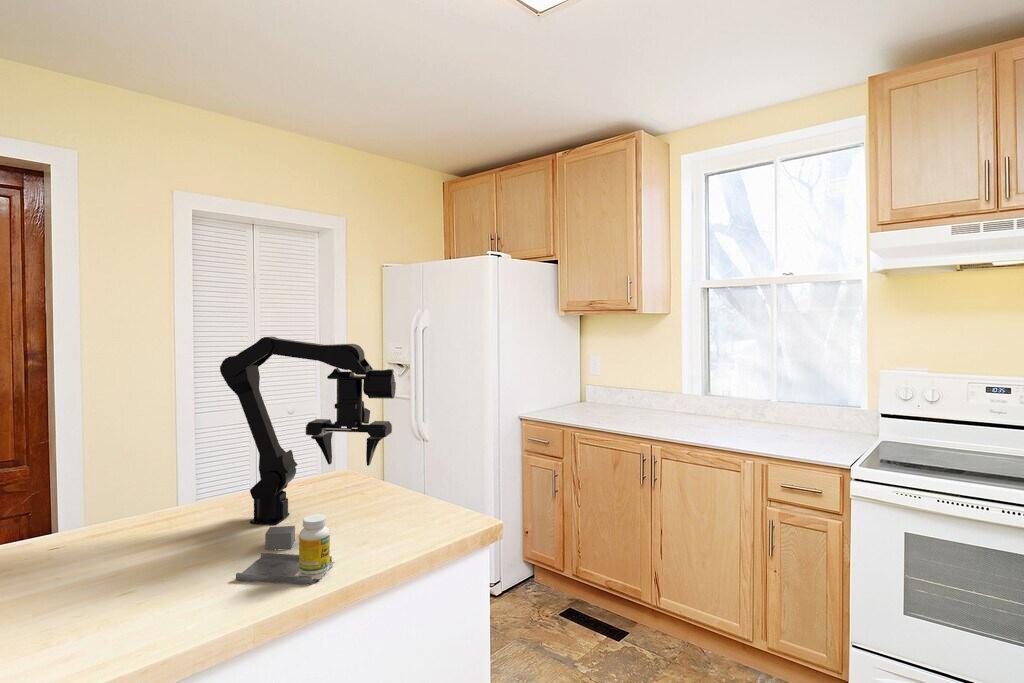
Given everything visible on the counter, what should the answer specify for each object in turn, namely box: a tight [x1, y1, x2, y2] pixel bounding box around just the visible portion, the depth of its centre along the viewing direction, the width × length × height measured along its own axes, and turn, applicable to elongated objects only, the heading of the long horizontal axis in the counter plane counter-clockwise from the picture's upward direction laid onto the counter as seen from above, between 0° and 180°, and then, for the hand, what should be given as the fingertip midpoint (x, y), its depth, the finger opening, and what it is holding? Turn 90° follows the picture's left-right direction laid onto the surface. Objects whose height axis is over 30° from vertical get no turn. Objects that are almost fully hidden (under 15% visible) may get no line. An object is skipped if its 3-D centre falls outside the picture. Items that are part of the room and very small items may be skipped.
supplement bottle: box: [298, 514, 331, 575], centre depth 103 cm, size 5×5×10 cm
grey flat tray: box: [235, 552, 336, 585], centre depth 104 cm, size 15×9×1 cm, turn 86°
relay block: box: [264, 525, 296, 551], centre depth 115 cm, size 5×4×4 cm
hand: (349, 464), depth 130 cm, fingers open, 9 cm apart
